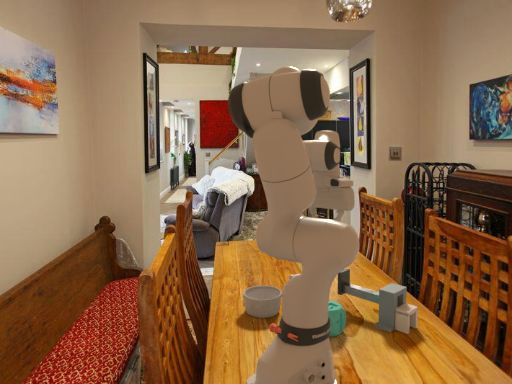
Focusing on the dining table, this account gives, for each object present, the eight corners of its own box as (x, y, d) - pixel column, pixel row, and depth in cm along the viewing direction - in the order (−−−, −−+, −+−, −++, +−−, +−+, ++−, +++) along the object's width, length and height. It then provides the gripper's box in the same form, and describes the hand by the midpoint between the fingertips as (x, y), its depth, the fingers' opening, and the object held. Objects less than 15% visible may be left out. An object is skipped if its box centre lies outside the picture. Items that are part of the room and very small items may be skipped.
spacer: (407, 334, 112) (408, 312, 112) (395, 329, 115) (395, 308, 115) (417, 327, 116) (417, 306, 115) (404, 323, 119) (405, 303, 118)
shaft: (390, 311, 117) (390, 285, 116) (337, 294, 131) (337, 271, 130) (398, 306, 120) (398, 281, 119) (346, 290, 134) (346, 268, 134)
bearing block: (389, 332, 113) (390, 295, 112) (374, 327, 117) (375, 291, 116) (409, 320, 121) (410, 285, 120) (394, 315, 125) (395, 281, 124)
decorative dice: (333, 339, 110) (333, 313, 109) (309, 331, 115) (309, 306, 114) (346, 329, 116) (346, 304, 115) (323, 322, 121) (323, 298, 120)
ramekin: (279, 321, 122) (278, 300, 122) (239, 318, 125) (238, 298, 124) (284, 305, 135) (284, 286, 134) (248, 302, 138) (247, 284, 137)
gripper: (296, 179, 132) (296, 219, 133) (345, 182, 116) (345, 226, 118) (308, 178, 136) (308, 217, 137) (357, 181, 120) (356, 224, 122)
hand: (325, 221), depth 127 cm, fingers open, 8 cm apart
